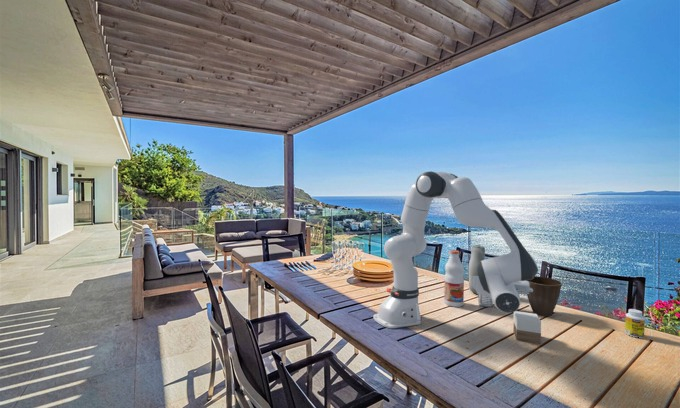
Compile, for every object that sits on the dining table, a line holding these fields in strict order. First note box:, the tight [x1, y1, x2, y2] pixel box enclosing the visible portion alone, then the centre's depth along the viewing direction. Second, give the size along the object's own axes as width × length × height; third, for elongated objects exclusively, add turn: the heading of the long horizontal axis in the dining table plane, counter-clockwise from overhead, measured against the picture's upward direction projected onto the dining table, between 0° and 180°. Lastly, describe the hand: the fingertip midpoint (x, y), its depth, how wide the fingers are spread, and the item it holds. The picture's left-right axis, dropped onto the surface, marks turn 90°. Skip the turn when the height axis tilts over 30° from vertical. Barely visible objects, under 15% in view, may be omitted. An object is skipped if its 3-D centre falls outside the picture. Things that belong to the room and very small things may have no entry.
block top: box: [513, 310, 542, 334], centre depth 117 cm, size 8×8×4 cm
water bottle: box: [477, 256, 494, 308], centre depth 151 cm, size 7×7×25 cm
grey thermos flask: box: [468, 244, 486, 295], centre depth 169 cm, size 10×10×28 cm
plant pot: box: [526, 275, 563, 317], centre depth 141 cm, size 15×15×16 cm
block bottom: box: [512, 323, 542, 345], centre depth 117 cm, size 8×8×4 cm
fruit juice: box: [443, 249, 465, 308], centre depth 153 cm, size 9×9×28 cm
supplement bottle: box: [624, 308, 646, 339], centre depth 119 cm, size 6×6×10 cm
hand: (497, 279), depth 123 cm, fingers closed on tall block, 5 cm apart
